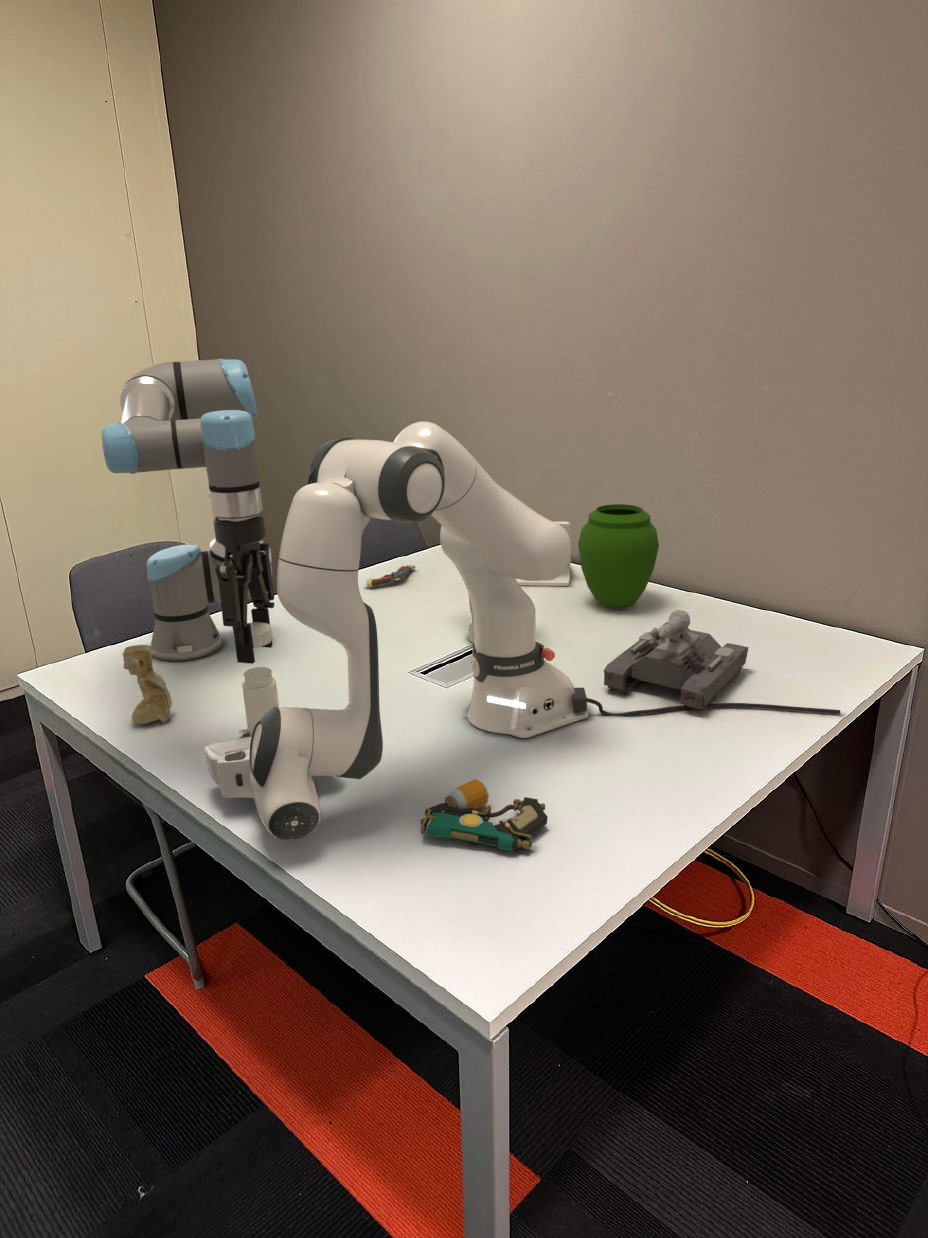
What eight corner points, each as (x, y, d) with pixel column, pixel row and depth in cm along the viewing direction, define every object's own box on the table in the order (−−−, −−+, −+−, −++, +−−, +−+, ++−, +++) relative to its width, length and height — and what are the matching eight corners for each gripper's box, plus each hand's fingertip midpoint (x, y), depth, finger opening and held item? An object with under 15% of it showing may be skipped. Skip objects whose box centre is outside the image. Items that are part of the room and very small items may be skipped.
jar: (276, 752, 149) (265, 662, 143) (290, 764, 145) (280, 672, 139) (247, 762, 146) (235, 671, 140) (261, 775, 142) (249, 681, 136)
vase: (599, 587, 227) (601, 497, 218) (668, 600, 216) (673, 505, 208) (562, 608, 212) (564, 513, 204) (634, 623, 202) (639, 523, 193)
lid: (227, 646, 136) (226, 633, 135) (247, 632, 141) (246, 620, 141) (260, 650, 134) (259, 637, 134) (279, 636, 140) (277, 623, 139)
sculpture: (138, 714, 164) (124, 642, 159) (176, 711, 165) (164, 639, 159) (130, 728, 159) (116, 654, 153) (170, 725, 159) (157, 651, 154)
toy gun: (363, 580, 231) (399, 577, 228) (382, 564, 248) (415, 561, 246) (365, 590, 231) (400, 587, 229) (384, 573, 249) (417, 570, 247)
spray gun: (558, 822, 128) (509, 880, 116) (464, 786, 136) (409, 838, 124) (560, 798, 126) (510, 855, 114) (464, 764, 134) (409, 814, 122)
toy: (655, 649, 187) (658, 584, 181) (746, 669, 176) (753, 600, 170) (602, 692, 167) (604, 620, 162) (701, 717, 156) (707, 641, 151)
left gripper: (244, 500, 140) (259, 631, 148) (183, 530, 123) (205, 676, 131) (286, 501, 138) (300, 633, 146) (231, 532, 121) (250, 680, 129)
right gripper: (341, 737, 134) (323, 702, 146) (207, 764, 128) (200, 724, 140) (344, 772, 136) (326, 734, 149) (212, 800, 130) (205, 757, 142)
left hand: (255, 653), depth 139 cm, fingers closed on lid, 6 cm apart
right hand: (264, 729), depth 144 cm, fingers closed on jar, 5 cm apart
